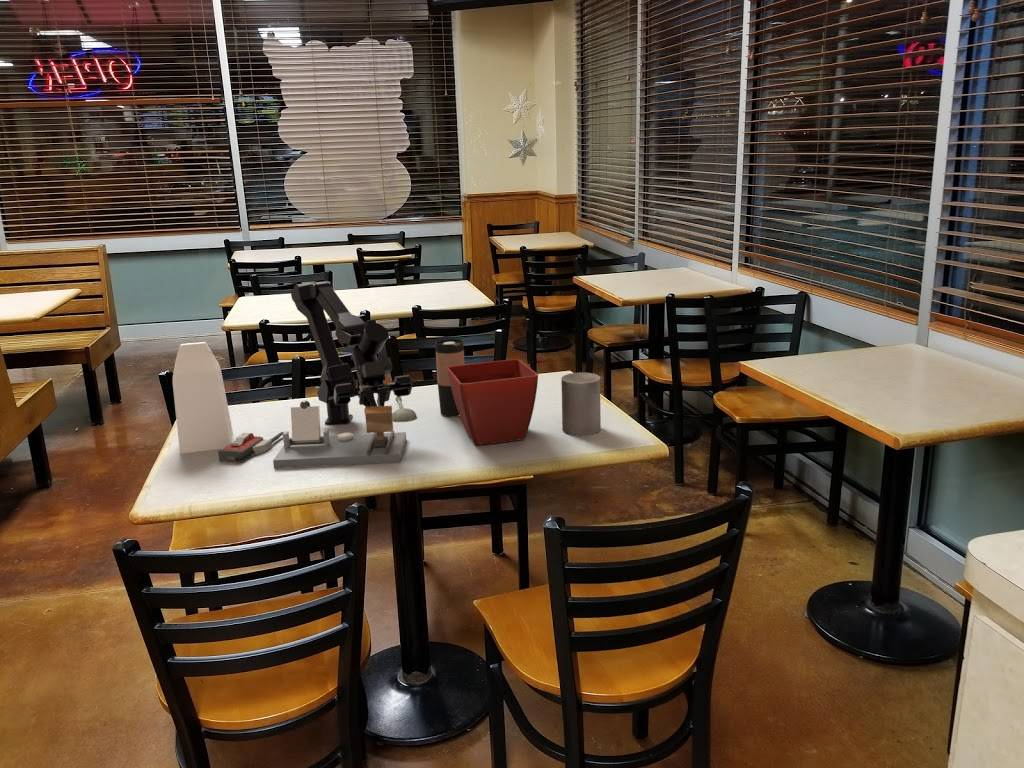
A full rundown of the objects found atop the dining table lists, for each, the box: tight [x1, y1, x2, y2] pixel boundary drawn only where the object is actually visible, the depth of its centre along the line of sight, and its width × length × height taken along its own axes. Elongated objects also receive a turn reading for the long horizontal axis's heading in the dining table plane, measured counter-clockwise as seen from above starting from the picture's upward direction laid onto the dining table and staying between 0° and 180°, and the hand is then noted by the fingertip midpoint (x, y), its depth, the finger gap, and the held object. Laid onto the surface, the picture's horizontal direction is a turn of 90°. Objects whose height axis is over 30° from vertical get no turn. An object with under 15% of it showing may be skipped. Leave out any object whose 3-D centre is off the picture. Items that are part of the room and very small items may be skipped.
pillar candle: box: [560, 372, 602, 437], centre depth 208 cm, size 10×10×15 cm
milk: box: [172, 341, 234, 454], centre depth 209 cm, size 12×12×26 cm
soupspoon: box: [392, 396, 417, 423], centre depth 233 cm, size 22×3×7 cm
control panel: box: [272, 428, 407, 469], centre depth 200 cm, size 16×29×6 cm, turn 92°
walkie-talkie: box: [217, 431, 285, 463], centre depth 206 cm, size 9×4×20 cm
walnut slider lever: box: [363, 405, 394, 447], centre depth 198 cm, size 4×6×9 cm, turn 92°
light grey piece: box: [289, 400, 324, 445], centre depth 200 cm, size 2×8×11 cm, turn 92°
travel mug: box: [434, 338, 466, 418], centre depth 226 cm, size 8×8×20 cm
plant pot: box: [447, 358, 539, 446], centre depth 206 cm, size 19×19×17 cm
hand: (381, 420), depth 199 cm, fingers closed
